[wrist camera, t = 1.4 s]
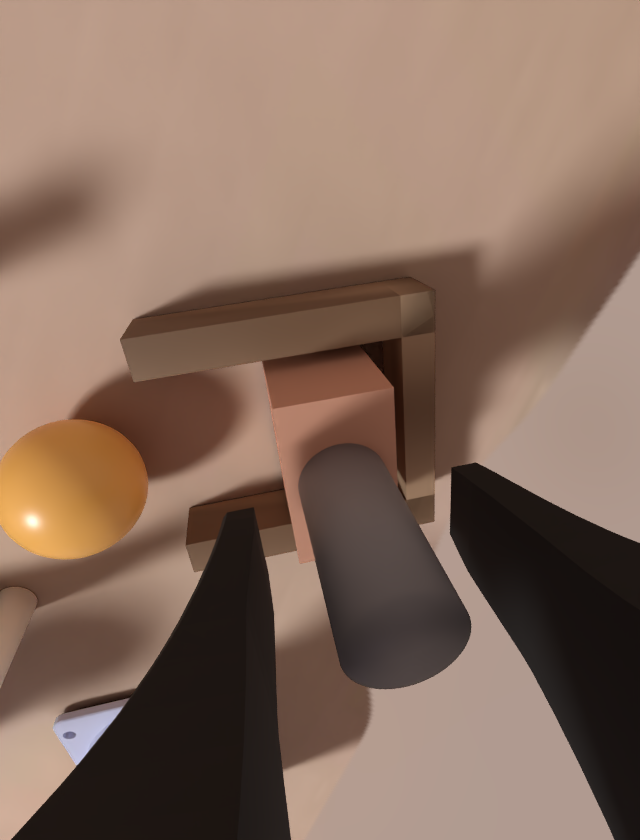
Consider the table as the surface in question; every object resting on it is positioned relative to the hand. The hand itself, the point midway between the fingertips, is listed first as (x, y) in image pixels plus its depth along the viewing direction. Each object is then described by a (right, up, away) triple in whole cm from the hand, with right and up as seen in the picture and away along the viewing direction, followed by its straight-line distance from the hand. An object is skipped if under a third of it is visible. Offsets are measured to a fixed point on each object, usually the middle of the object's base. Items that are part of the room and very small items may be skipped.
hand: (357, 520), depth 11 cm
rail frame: (-2, +2, +5) cm, 6 cm away
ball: (-8, 0, +3) cm, 8 cm away
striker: (-1, +3, +5) cm, 6 cm away
